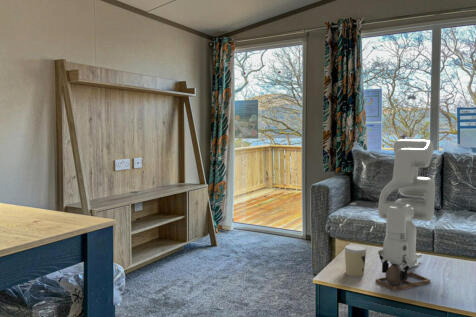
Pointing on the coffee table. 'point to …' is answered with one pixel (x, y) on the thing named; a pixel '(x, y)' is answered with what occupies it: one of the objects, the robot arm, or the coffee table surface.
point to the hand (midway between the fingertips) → (394, 276)
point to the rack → (408, 284)
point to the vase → (393, 275)
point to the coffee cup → (355, 260)
